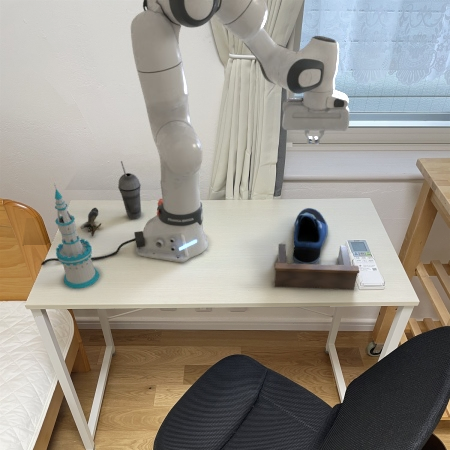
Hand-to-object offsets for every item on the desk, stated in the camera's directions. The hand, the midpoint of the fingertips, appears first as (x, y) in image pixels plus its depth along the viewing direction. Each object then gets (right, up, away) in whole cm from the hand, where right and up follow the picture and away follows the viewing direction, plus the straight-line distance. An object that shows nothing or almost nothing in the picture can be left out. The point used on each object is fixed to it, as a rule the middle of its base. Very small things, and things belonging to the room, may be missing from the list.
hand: (312, 143), depth 145 cm
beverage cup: (-59, -21, +13) cm, 64 cm away
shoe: (-1, -32, -1) cm, 32 cm away
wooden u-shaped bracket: (-2, -42, -12) cm, 44 cm away
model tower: (-70, -43, -12) cm, 83 cm away
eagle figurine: (-72, -27, +7) cm, 77 cm away
